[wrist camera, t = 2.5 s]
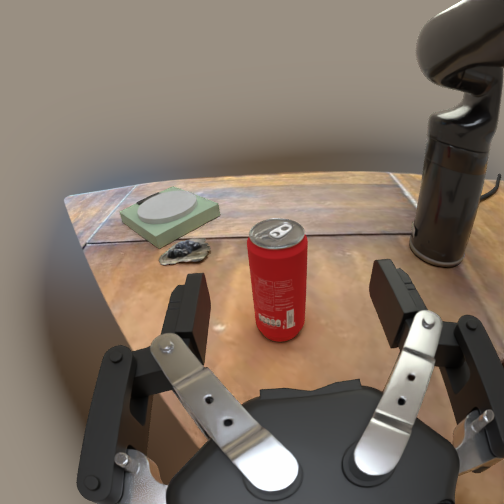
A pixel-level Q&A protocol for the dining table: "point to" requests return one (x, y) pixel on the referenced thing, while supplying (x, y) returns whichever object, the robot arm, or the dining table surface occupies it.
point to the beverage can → (278, 277)
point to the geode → (185, 252)
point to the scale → (169, 215)
